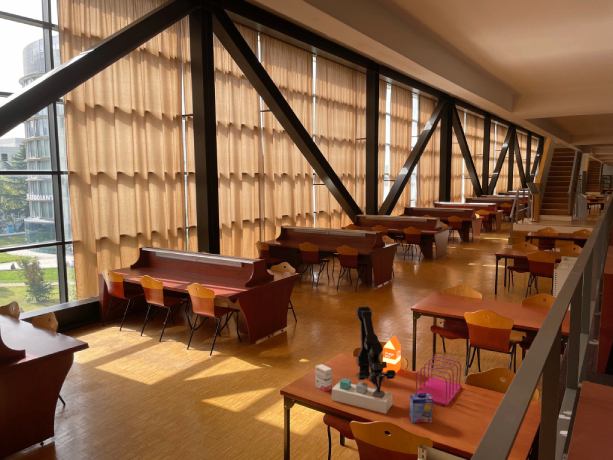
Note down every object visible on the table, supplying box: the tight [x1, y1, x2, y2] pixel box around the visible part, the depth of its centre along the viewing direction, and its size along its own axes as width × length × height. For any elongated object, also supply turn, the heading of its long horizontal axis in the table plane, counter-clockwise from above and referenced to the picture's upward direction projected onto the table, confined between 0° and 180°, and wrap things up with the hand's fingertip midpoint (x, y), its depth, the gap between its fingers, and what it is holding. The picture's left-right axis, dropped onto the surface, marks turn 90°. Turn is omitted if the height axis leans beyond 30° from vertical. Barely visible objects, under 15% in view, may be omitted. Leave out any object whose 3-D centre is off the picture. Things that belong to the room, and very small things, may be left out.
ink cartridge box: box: [409, 393, 434, 424], centre depth 227 cm, size 10×6×14 cm, turn 95°
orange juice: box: [382, 335, 402, 373], centre depth 281 cm, size 8×9×20 cm
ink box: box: [314, 363, 333, 392], centre depth 260 cm, size 8×5×12 cm, turn 39°
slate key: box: [355, 381, 369, 394], centre depth 244 cm, size 4×4×4 cm
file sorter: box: [415, 355, 463, 407], centre depth 254 cm, size 17×25×16 cm
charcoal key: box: [373, 389, 384, 398], centre depth 240 cm, size 4×4×4 cm
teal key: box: [339, 377, 352, 390], centre depth 248 cm, size 4×4×4 cm
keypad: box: [331, 380, 393, 414], centre depth 245 cm, size 10×29×6 cm, turn 62°
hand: (378, 391), depth 240 cm, fingers closed, pressing on charcoal key
